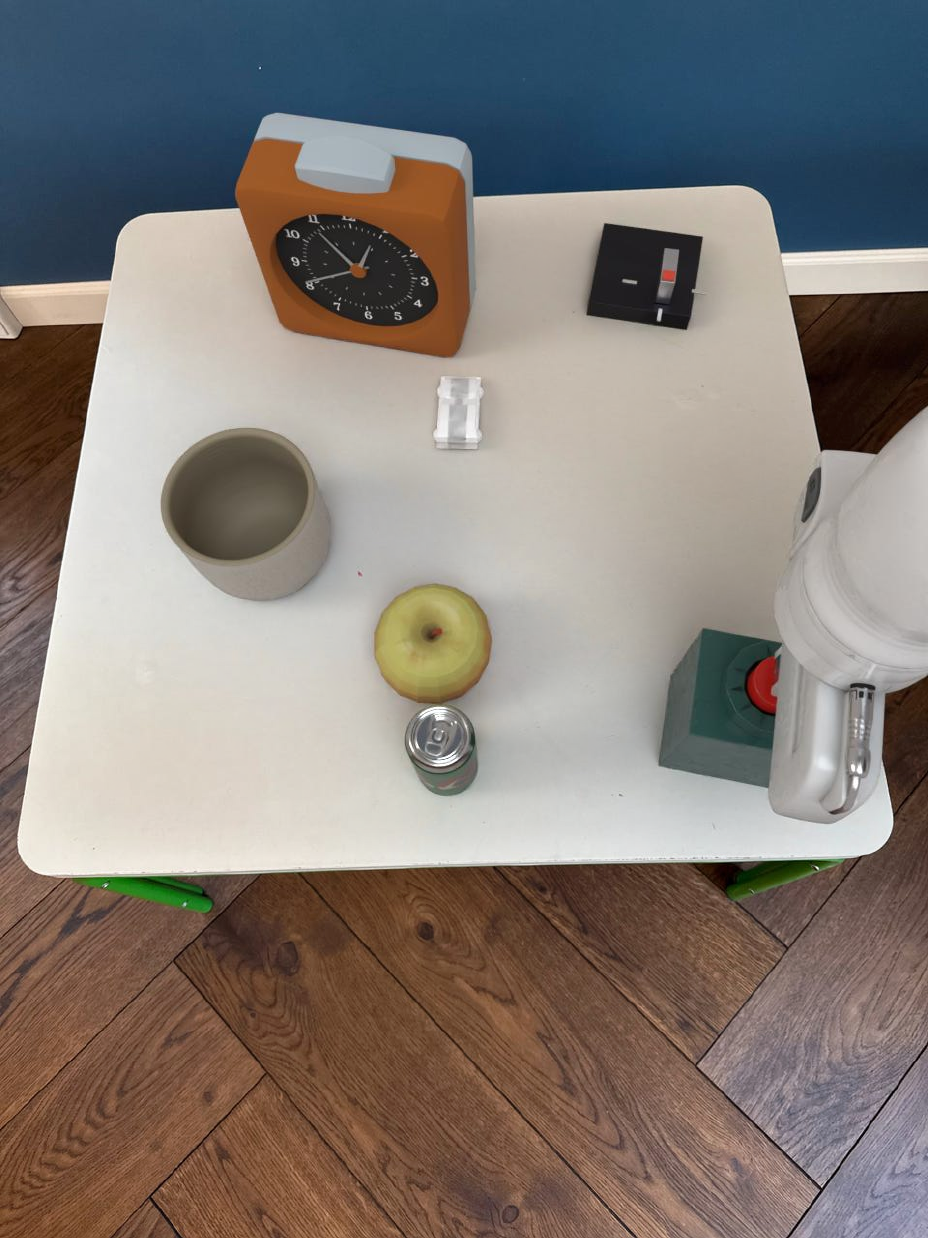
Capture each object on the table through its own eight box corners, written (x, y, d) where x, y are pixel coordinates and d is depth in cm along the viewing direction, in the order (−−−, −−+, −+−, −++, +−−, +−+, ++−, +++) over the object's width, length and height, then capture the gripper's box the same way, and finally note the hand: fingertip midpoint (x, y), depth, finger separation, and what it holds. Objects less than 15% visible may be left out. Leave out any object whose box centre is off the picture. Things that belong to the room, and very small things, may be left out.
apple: (500, 703, 74) (501, 677, 66) (387, 721, 74) (375, 697, 66) (482, 597, 77) (480, 560, 70) (373, 614, 77) (360, 579, 70)
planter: (363, 524, 80) (344, 464, 70) (292, 638, 77) (261, 592, 66) (251, 470, 82) (216, 404, 72) (176, 578, 79) (129, 524, 69)
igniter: (789, 697, 73) (854, 645, 60) (781, 790, 71) (846, 758, 58) (670, 674, 74) (708, 619, 61) (658, 766, 72) (694, 728, 59)
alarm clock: (280, 332, 88) (219, 163, 68) (304, 264, 91) (252, 82, 71) (458, 362, 86) (448, 197, 66) (477, 291, 89) (473, 113, 69)
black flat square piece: (709, 252, 89) (714, 236, 87) (696, 340, 86) (701, 326, 84) (601, 237, 90) (604, 221, 88) (584, 324, 87) (586, 309, 85)
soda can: (486, 747, 73) (484, 713, 61) (466, 805, 71) (461, 781, 60) (429, 728, 73) (417, 691, 62) (408, 785, 72) (392, 758, 61)
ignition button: (802, 668, 60) (810, 661, 58) (798, 718, 59) (806, 712, 57) (749, 658, 61) (756, 651, 59) (744, 708, 59) (751, 701, 58)
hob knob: (659, 270, 86) (665, 245, 83) (673, 271, 86) (679, 247, 83) (654, 302, 85) (660, 279, 82) (669, 304, 85) (675, 281, 82)
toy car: (432, 453, 82) (430, 440, 80) (437, 381, 85) (435, 367, 83) (482, 454, 82) (481, 442, 80) (485, 382, 85) (485, 368, 83)
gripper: (928, 820, 40) (822, 847, 54) (941, 442, 47) (843, 548, 60) (791, 792, 41) (718, 825, 54) (822, 423, 48) (751, 532, 61)
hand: (784, 677), depth 57 cm, fingers closed
